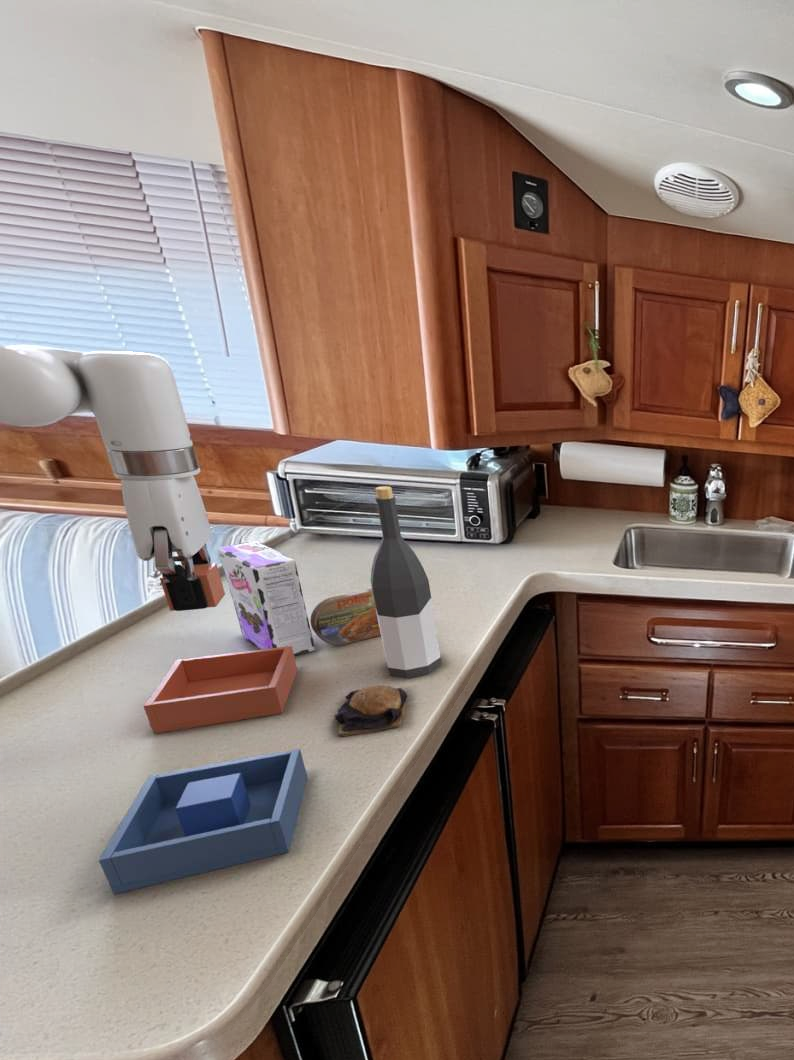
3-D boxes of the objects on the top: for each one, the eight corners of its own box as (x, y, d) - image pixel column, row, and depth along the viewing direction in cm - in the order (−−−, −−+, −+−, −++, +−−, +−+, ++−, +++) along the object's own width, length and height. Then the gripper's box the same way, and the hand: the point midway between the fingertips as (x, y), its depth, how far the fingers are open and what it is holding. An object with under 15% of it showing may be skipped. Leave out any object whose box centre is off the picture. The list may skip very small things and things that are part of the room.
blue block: (187, 842, 67) (174, 808, 65) (199, 815, 70) (187, 782, 69) (242, 830, 69) (231, 797, 67) (251, 804, 73) (241, 772, 71)
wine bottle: (395, 656, 107) (362, 481, 96) (447, 654, 109) (421, 482, 98) (378, 679, 100) (341, 493, 89) (435, 677, 102) (405, 494, 91)
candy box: (241, 637, 109) (215, 546, 103) (281, 626, 114) (259, 539, 107) (276, 662, 103) (250, 567, 96) (317, 649, 107) (296, 558, 101)
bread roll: (345, 699, 95) (340, 678, 93) (410, 690, 98) (406, 669, 97) (332, 739, 86) (326, 715, 84) (404, 727, 89) (400, 704, 88)
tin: (320, 651, 107) (309, 605, 104) (313, 645, 108) (302, 600, 105) (415, 626, 118) (408, 584, 115) (408, 621, 120) (401, 579, 116)
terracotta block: (170, 611, 80) (159, 578, 79) (181, 598, 84) (171, 566, 82) (216, 606, 82) (206, 574, 81) (225, 594, 86) (216, 563, 84)
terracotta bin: (153, 733, 84) (143, 706, 82) (184, 685, 95) (176, 659, 93) (282, 713, 90) (275, 687, 88) (297, 669, 101) (291, 645, 99)
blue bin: (113, 894, 61) (98, 860, 60) (160, 806, 72) (148, 775, 71) (288, 852, 68) (279, 820, 66) (307, 776, 79) (300, 748, 77)
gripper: (139, 449, 81) (180, 581, 88) (79, 477, 68) (134, 631, 74) (215, 449, 85) (249, 576, 92) (173, 476, 71) (217, 623, 78)
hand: (197, 599), depth 83 cm, fingers closed on terracotta block, 4 cm apart
